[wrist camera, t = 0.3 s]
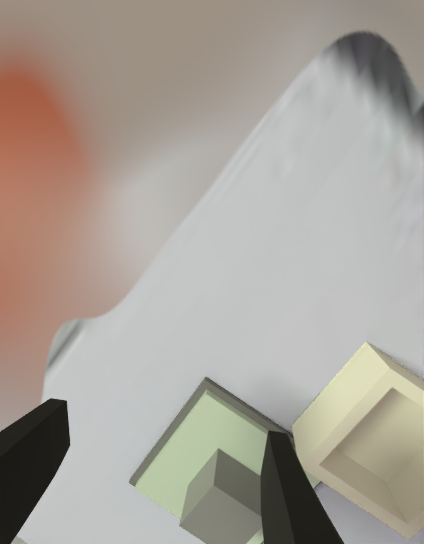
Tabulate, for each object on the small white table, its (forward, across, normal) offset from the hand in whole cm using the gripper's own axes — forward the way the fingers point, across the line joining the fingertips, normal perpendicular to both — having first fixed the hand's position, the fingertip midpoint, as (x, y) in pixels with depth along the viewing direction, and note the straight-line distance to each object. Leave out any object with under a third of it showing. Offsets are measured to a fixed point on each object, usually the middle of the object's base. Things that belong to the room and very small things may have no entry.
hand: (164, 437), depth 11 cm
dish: (+10, -12, +6) cm, 17 cm away
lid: (+9, -3, +12) cm, 15 cm away
